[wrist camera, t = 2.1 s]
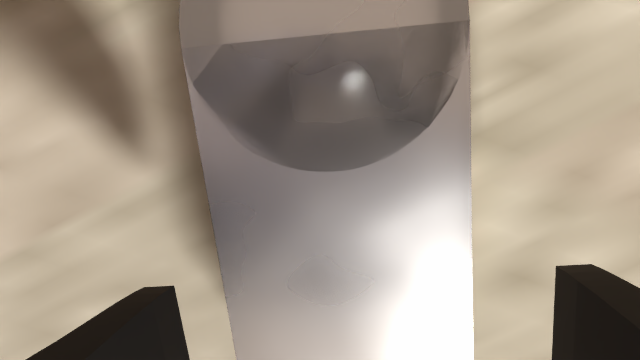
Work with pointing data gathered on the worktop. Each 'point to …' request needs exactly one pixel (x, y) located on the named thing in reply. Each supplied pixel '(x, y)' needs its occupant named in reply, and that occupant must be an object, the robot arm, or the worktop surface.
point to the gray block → (337, 173)
